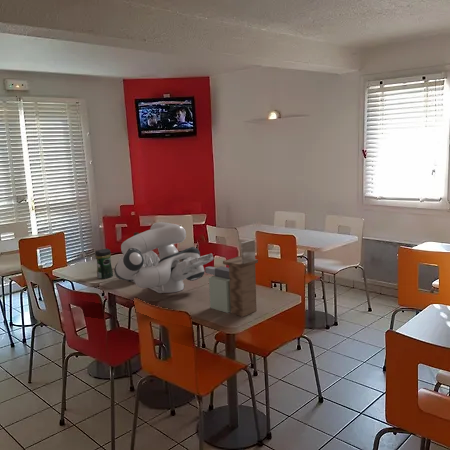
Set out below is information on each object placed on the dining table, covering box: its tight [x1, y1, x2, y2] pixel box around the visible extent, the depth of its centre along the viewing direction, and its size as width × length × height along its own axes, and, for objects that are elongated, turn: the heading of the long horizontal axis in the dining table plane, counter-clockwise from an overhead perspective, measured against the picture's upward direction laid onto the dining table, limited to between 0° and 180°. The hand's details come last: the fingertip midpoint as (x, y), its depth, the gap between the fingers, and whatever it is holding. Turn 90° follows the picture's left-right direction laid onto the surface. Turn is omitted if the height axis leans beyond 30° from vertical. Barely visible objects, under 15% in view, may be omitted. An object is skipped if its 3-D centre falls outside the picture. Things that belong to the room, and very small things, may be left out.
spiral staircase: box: [117, 250, 160, 283], centre depth 291 cm, size 18×18×25 cm
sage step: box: [208, 275, 231, 314], centre depth 234 cm, size 12×12×16 cm
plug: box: [204, 265, 229, 279], centre depth 235 cm, size 18×5×4 cm, turn 46°
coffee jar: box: [94, 248, 114, 280], centre depth 298 cm, size 10×8×19 cm
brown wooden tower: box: [222, 239, 259, 317], centre depth 225 cm, size 12×12×36 cm
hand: (204, 256), depth 240 cm, fingers open, 8 cm apart
